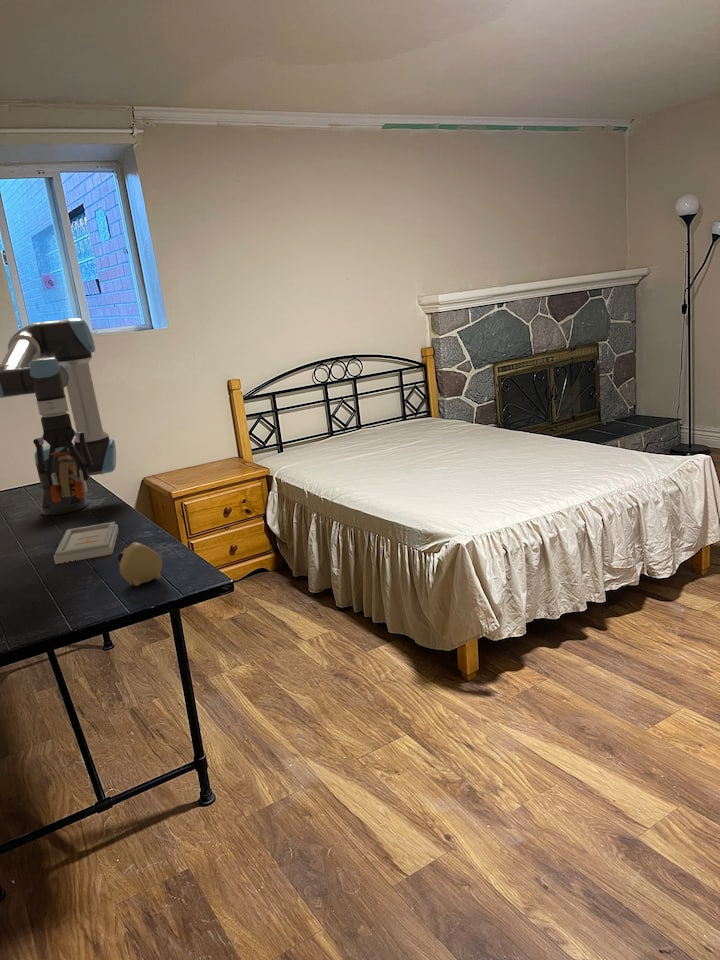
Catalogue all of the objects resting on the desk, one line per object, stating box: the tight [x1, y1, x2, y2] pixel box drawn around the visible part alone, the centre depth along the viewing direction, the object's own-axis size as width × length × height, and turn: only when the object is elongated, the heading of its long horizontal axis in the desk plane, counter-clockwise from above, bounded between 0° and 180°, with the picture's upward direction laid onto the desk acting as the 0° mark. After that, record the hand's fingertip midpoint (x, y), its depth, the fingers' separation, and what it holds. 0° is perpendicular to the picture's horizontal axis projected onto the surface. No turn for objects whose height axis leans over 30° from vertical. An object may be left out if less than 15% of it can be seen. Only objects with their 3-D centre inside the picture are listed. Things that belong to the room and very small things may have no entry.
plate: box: [53, 521, 119, 565], centre depth 203 cm, size 23×15×3 cm, turn 15°
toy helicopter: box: [50, 452, 86, 502], centre depth 200 cm, size 8×21×14 cm, turn 16°
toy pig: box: [117, 541, 163, 587], centre depth 169 cm, size 10×12×11 cm
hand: (71, 493), depth 201 cm, fingers closed on toy helicopter, 7 cm apart
